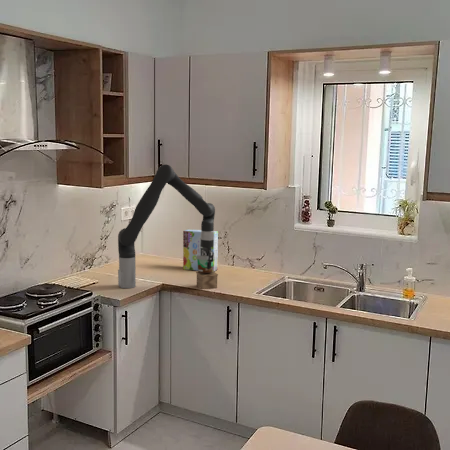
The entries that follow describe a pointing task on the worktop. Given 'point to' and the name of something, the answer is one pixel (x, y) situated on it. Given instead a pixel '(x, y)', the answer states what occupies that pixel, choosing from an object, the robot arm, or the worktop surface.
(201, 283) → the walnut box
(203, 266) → the food container
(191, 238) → the snack box
